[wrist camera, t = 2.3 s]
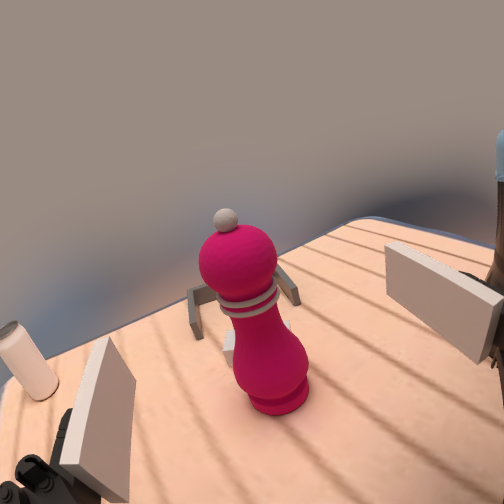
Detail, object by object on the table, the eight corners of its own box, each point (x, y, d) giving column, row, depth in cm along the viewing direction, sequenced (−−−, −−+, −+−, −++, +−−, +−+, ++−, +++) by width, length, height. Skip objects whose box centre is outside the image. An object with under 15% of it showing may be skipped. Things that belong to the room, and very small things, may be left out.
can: (57, 397, 33) (12, 334, 29) (29, 405, 32) (-15, 347, 27) (62, 372, 39) (24, 314, 35) (36, 381, 37) (-2, 326, 33)
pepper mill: (288, 359, 33) (243, 191, 26) (327, 392, 27) (291, 196, 20) (235, 390, 31) (165, 221, 23) (268, 431, 24) (190, 237, 17)
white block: (293, 338, 37) (289, 320, 36) (294, 359, 33) (290, 341, 32) (233, 347, 38) (227, 330, 37) (229, 368, 35) (222, 351, 34)
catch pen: (278, 275, 53) (274, 260, 52) (300, 303, 43) (297, 286, 42) (192, 304, 51) (186, 289, 50) (197, 340, 41) (189, 324, 40)
